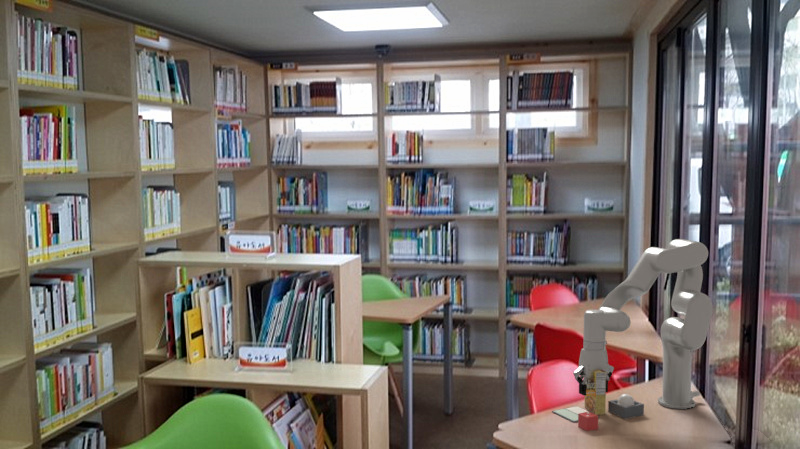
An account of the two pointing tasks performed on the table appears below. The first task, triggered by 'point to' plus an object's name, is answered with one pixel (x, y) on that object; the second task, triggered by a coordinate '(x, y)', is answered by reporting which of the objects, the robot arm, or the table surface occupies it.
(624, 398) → the white round ball
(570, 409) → the striped board
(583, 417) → the red die
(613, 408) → the housing
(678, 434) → the table surface
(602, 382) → the candy box
